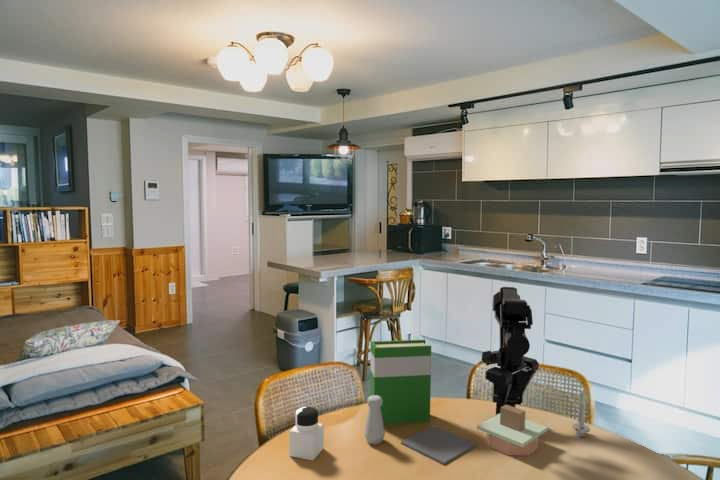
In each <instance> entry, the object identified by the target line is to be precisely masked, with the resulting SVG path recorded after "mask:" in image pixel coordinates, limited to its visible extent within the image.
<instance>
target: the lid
mask: <svg viewBox="0 0 720 480" xmlns="http://www.w3.org/2000/svg"><path fill="white" fill-rule="evenodd" d="M476 429H477V430H479V431H480V432H483V433H486V434H487V433H488V434H491V435H493V436H496V437H498V438H501V439H503V440H506V441H508V442H511V443H513V444H516V445H518V446H521V447H524V446H525V445H527V444H528V443H530V442H531V441H533V440H534V439H536V438H537V437H541V435H543V434H544V433H546V432H548V430H549V427H548V426H545V425H543V424H540V423H538V422H534V421H532V420H529V419H526V410H523V409H520V408H518V407H516V408H515V407H512V406H509V405H504V406H502V407H501V409H500V413H499V414H497V415H496V414H495V415H494V416H492V417H490V418H488V419H487V420H485V421H482V422H481V423H479V424H478V425H476Z"/></svg>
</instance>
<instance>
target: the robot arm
mask: <svg viewBox="0 0 720 480" xmlns="http://www.w3.org/2000/svg"><path fill="white" fill-rule="evenodd" d="M492 297H493V298H492V312H494V318H495V321H496V322H497V323H498V325H499V348H498V350H494V351H491V350H487V351H486V350H485V351H483V352H482V353H481V361H482V362H483V364H485V365H486V366H489V365H495V364H496V366H494V367H491V368H489V369H487V370H486V371H485V377H484V378H485V380H487V381H489V383H492V388H491V399H492V403H495V416H496V415H497V414H499V413H500V409H501V407H502V406H504V405H509V406H512V407H515V408H517V407H516V406H517V405H519V406H521V405H522V404H523V396H524V393H525V391H526V389H527V387H528V386H529V384H530V382H531V380H532V379H533V377H534V375H535V374H536V373H537V371H539V367H540V365H539V362H538V361H537V359H536V358H532V357H527V356H525V355H526V354H528V352H529V350H530V348H531V346H530V345H531V344H530V341H529V339H528V337H527V335H526V330H532V326H533V324H534V323H533V321H534V320H533V313H532V308H531V306H530V304H528V302H527V301H526V300H525V299H521V295H519V294H518V289H517V287H514V286H502V287H500V289H499V291H498V292H496V293H494V294H493V296H492Z"/></svg>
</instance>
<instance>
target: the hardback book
mask: <svg viewBox="0 0 720 480" xmlns="http://www.w3.org/2000/svg"><path fill="white" fill-rule="evenodd" d="M369 371H370V374H369V375H370V376H369V377H370V380H369V381H370V383H369V391H370V392H369V397H370V396H372V395H378V396H380V397H381V398H382V400H383V403H382V406H380V409H381V414H382V419H383V425H384V426H386V425H387V426H389V425H398V424H399V425H400V424H401V425H403V424H415V423H416V424H417V423H431V381H432V345H431V344H430V345H429V344H426V339H405V340H404V339H402V340H397V339H396V340H377V341H376V340H373V341H370V368H369Z"/></svg>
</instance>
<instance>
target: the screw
mask: <svg viewBox="0 0 720 480" xmlns="http://www.w3.org/2000/svg"><path fill="white" fill-rule="evenodd" d="M578 401H579V402H578V416H577V419H578V420H577V423H574V424H572V426H571V428H572V429H573V430H574V431H575V434H576V436H578V437H582V438H584V437H586V436H587V433H590V432H591V428H590V427H589V426H588V425H586V422H585V420H586V393H585V392H583V391H581V392H580V393H579V400H578Z"/></svg>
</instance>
